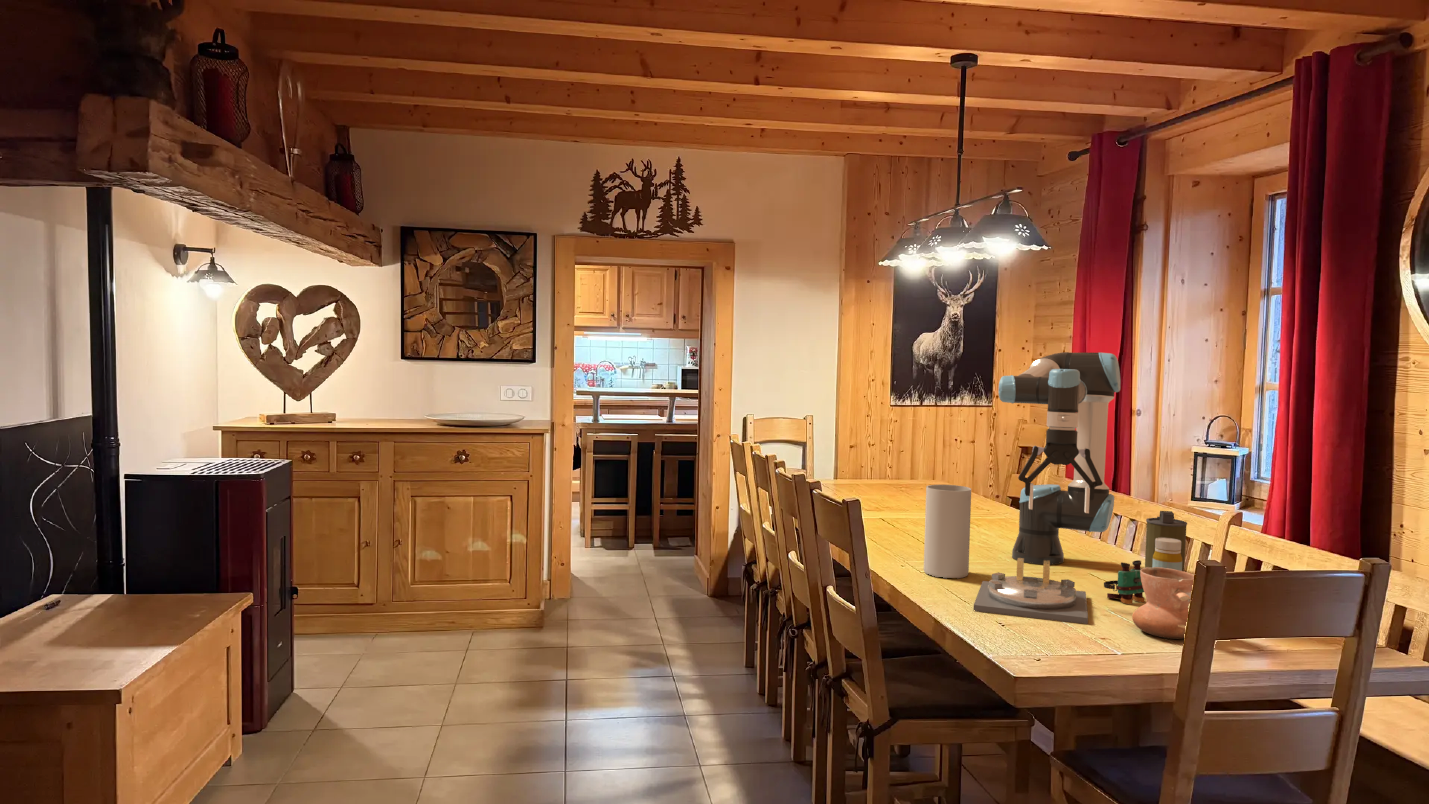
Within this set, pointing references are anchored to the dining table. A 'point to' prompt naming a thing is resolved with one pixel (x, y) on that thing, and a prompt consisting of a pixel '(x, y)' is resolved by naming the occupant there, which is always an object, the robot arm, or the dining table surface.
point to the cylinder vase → (947, 531)
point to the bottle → (1167, 553)
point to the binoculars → (1127, 584)
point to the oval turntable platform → (1032, 590)
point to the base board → (1067, 615)
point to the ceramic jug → (1164, 602)
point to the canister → (1164, 534)
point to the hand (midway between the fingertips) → (1058, 510)
